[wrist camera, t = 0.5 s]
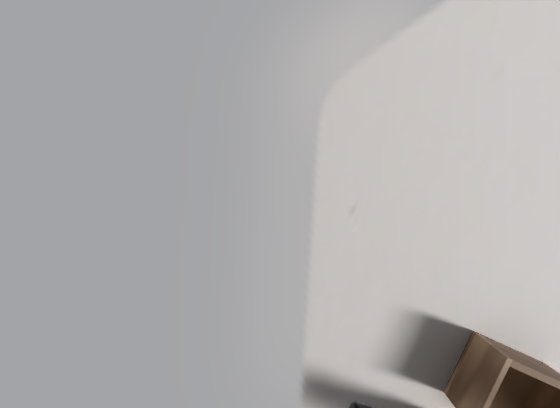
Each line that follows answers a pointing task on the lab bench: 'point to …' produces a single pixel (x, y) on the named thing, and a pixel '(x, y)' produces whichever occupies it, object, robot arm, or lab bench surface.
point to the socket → (501, 378)
